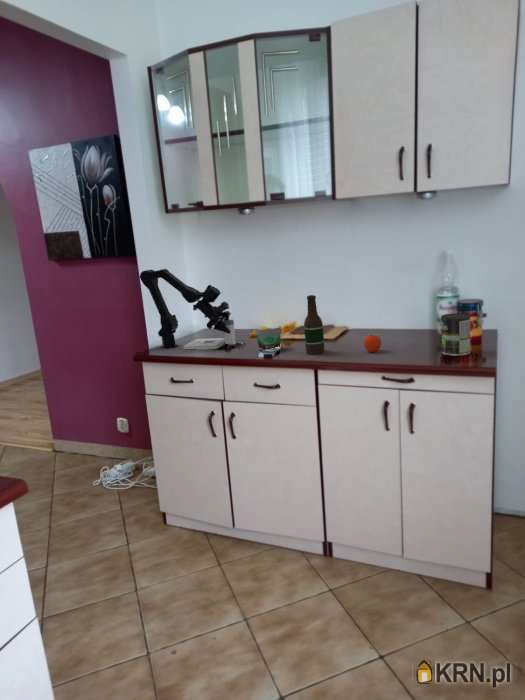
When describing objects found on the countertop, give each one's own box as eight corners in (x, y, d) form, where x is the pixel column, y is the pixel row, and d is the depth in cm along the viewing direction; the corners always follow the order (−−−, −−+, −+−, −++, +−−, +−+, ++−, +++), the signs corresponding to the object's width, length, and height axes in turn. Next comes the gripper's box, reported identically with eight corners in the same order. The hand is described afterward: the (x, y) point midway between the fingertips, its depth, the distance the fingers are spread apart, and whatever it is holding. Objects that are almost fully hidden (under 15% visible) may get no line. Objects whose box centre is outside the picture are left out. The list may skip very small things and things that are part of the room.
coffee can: (445, 356, 193) (444, 319, 190) (439, 350, 203) (438, 314, 200) (474, 354, 192) (473, 316, 189) (466, 348, 202) (466, 312, 199)
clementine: (376, 348, 216) (375, 331, 214) (387, 351, 210) (386, 333, 208) (360, 351, 213) (359, 334, 211) (371, 354, 207) (370, 337, 205)
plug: (225, 346, 250) (222, 321, 247) (228, 344, 253) (225, 319, 251) (233, 346, 248) (230, 321, 246) (236, 344, 252) (233, 319, 249)
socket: (184, 349, 250) (183, 345, 250) (197, 342, 264) (196, 338, 264) (217, 348, 245) (216, 344, 245) (228, 341, 259) (228, 337, 259)
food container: (260, 354, 226) (257, 331, 224) (256, 351, 232) (254, 329, 230) (287, 350, 229) (285, 327, 227) (282, 347, 235) (280, 325, 233)
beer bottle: (305, 351, 223) (301, 295, 218) (323, 349, 223) (319, 293, 217) (306, 355, 215) (301, 297, 210) (325, 353, 215) (321, 295, 210)
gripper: (209, 300, 238) (235, 323, 237) (224, 294, 256) (248, 315, 255) (196, 317, 243) (220, 340, 241) (211, 311, 260) (234, 332, 259)
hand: (231, 331), depth 249 cm, fingers open, 5 cm apart
